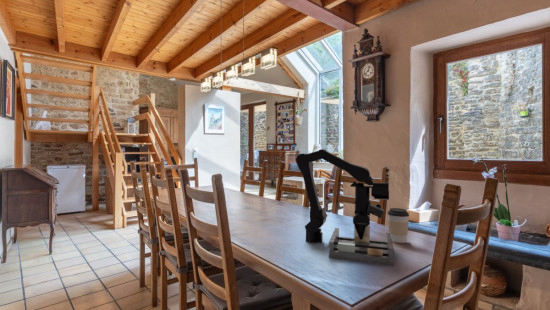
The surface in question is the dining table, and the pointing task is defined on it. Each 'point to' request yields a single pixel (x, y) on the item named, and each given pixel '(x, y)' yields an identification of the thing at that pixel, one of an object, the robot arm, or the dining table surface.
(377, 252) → the offcut
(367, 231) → the birch panel
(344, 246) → the offcut
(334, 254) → the rack
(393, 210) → the coffee cup
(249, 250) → the dining table surface
